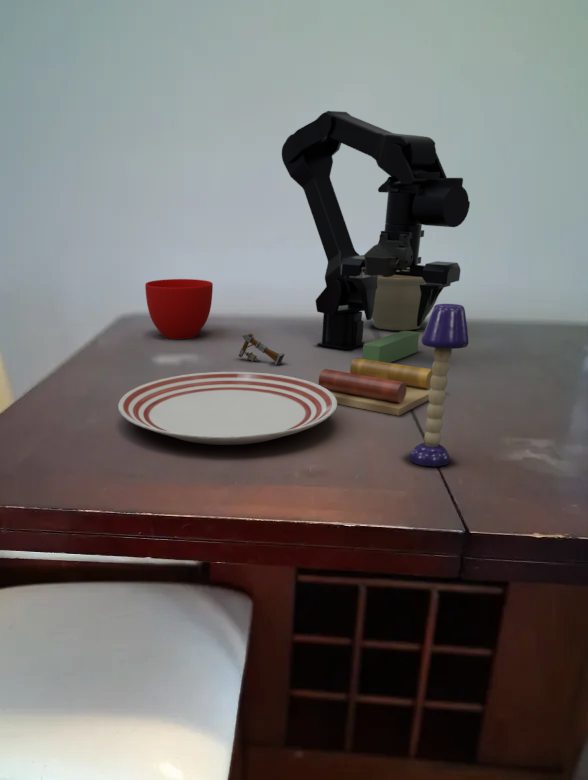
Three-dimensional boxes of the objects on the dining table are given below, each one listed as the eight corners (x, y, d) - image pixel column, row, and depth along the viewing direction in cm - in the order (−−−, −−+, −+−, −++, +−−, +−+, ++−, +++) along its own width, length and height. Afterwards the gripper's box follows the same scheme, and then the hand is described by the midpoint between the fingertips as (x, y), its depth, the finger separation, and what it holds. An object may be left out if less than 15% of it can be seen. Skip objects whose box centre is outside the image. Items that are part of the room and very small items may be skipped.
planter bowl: (376, 317, 164) (380, 266, 159) (448, 325, 155) (455, 271, 151) (343, 329, 152) (347, 273, 147) (419, 338, 143) (426, 279, 139)
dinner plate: (273, 476, 78) (274, 446, 76) (74, 433, 91) (71, 407, 90) (368, 411, 99) (370, 387, 97) (195, 384, 112) (195, 362, 111)
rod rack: (307, 398, 105) (308, 371, 104) (355, 378, 115) (357, 354, 113) (398, 415, 97) (401, 387, 95) (442, 393, 107) (445, 367, 105)
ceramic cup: (235, 330, 151) (235, 279, 147) (189, 345, 138) (188, 289, 134) (182, 324, 158) (181, 275, 154) (133, 337, 145) (131, 284, 141)
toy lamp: (402, 453, 84) (419, 301, 77) (442, 451, 84) (462, 301, 78) (417, 468, 80) (435, 309, 73) (459, 466, 80) (481, 308, 73)
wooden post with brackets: (237, 352, 128) (247, 328, 126) (274, 375, 126) (285, 352, 124) (232, 354, 127) (242, 330, 124) (269, 378, 125) (280, 355, 122)
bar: (361, 365, 123) (363, 344, 122) (401, 349, 134) (403, 330, 132) (378, 367, 121) (379, 346, 120) (417, 352, 132) (419, 332, 130)
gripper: (326, 224, 118) (320, 323, 125) (438, 229, 108) (425, 337, 114) (360, 220, 126) (353, 314, 133) (467, 225, 115) (454, 326, 122)
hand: (393, 322), depth 125 cm, fingers open, 9 cm apart
